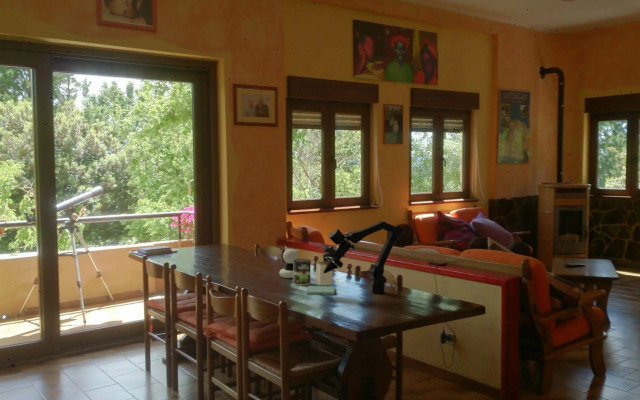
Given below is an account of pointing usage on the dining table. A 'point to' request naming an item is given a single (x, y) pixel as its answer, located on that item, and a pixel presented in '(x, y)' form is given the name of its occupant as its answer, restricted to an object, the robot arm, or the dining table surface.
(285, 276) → the decorative figurine
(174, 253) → the dining table surface
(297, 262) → the coffee can
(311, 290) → the base block
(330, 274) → the beige rectangular block
